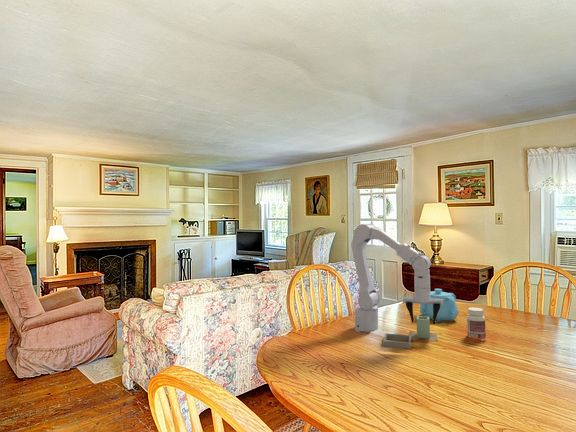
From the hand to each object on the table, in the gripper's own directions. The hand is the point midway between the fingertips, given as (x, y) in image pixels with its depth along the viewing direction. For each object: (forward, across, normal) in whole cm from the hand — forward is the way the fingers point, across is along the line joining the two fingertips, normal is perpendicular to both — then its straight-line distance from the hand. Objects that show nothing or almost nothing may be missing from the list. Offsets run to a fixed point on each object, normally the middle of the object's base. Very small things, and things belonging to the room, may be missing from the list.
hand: (423, 322), depth 140 cm
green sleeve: (+5, 0, 0) cm, 5 cm away
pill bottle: (+6, -19, -5) cm, 21 cm away
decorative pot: (+6, -7, -31) cm, 32 cm away
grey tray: (+6, +9, +10) cm, 15 cm away
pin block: (+6, 0, 0) cm, 6 cm away
